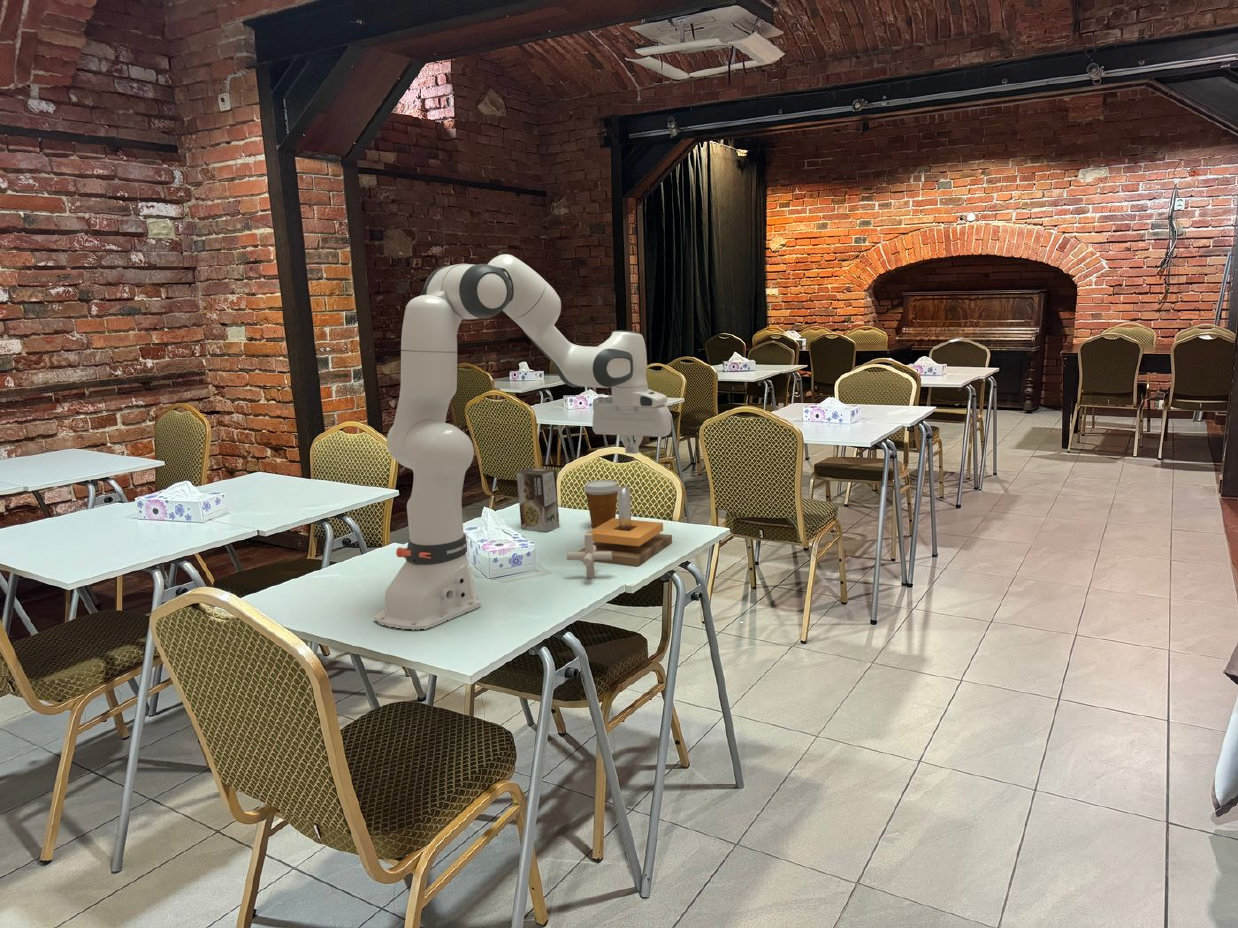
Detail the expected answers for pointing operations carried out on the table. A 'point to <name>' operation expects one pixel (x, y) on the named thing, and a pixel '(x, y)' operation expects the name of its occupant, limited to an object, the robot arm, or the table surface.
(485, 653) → the table surface
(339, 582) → the table surface
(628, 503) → the metal pipe
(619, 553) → the walnut base board
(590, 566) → the pipe connector
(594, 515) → the disposable coffee cup
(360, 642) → the table surface
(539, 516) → the grey-brown upright rectangular box
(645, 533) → the orange collar
